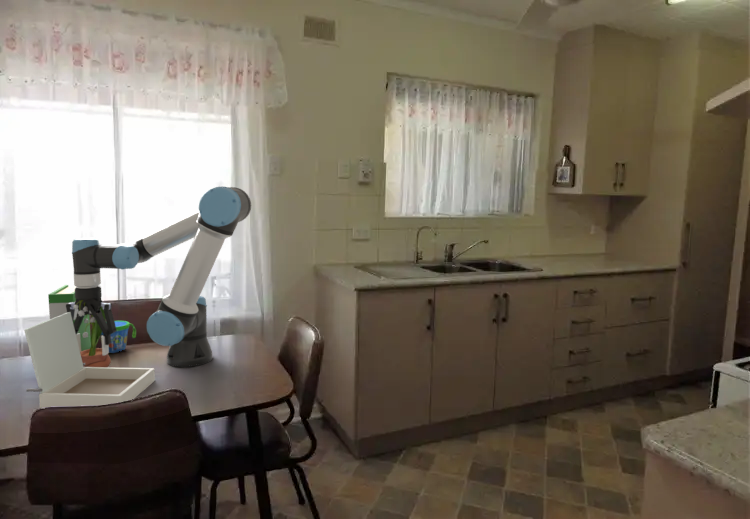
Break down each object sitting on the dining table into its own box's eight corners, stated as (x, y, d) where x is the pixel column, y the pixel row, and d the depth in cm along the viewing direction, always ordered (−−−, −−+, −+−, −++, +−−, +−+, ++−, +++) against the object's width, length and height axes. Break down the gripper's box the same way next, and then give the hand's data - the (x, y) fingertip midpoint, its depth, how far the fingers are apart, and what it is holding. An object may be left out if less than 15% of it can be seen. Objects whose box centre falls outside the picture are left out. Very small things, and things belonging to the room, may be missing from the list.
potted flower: (92, 377, 163) (87, 299, 160) (64, 374, 165) (60, 298, 162) (117, 365, 175) (114, 292, 172) (92, 362, 177) (87, 290, 174)
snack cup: (131, 343, 200) (130, 317, 199) (141, 349, 193) (140, 323, 191) (87, 351, 189) (85, 324, 188) (96, 358, 182) (94, 330, 181)
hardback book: (69, 348, 193) (65, 284, 189) (91, 347, 194) (87, 284, 191) (52, 363, 176) (48, 294, 172) (76, 362, 178) (72, 293, 174)
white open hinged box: (154, 380, 162) (152, 312, 160) (121, 410, 141) (117, 332, 138) (73, 378, 162) (69, 311, 159) (27, 408, 141) (21, 330, 138)
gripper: (126, 284, 170) (129, 350, 173) (61, 283, 170) (66, 350, 173) (115, 288, 163) (118, 358, 166) (47, 287, 163) (52, 357, 166)
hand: (91, 353), depth 170 cm, fingers closed on potted flower, 8 cm apart
